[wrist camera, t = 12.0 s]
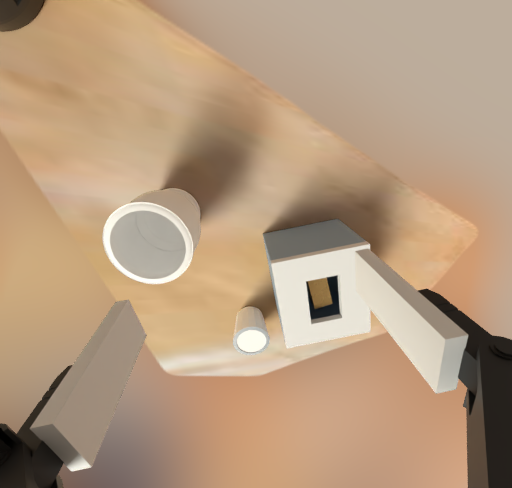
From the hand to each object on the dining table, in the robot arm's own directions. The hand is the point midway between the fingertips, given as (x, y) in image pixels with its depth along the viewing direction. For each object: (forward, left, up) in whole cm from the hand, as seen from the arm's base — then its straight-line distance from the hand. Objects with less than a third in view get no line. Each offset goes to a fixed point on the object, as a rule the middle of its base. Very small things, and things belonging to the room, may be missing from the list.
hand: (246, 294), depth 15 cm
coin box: (+16, +10, -31) cm, 36 cm away
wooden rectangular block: (+16, +10, -30) cm, 35 cm away
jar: (+1, -11, -31) cm, 33 cm away
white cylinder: (+26, -3, -31) cm, 41 cm away
